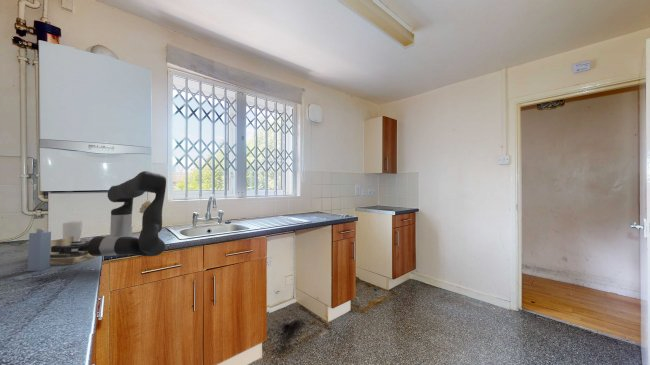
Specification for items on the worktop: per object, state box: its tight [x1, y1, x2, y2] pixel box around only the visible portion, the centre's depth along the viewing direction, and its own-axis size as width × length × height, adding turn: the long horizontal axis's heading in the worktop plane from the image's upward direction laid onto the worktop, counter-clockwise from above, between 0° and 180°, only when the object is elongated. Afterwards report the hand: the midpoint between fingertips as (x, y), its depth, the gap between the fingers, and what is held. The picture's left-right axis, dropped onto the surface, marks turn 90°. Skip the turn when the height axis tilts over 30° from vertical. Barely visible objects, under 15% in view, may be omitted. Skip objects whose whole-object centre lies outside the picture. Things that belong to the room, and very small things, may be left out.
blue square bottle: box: [26, 227, 52, 272], centre depth 97 cm, size 4×4×16 cm
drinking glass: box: [62, 220, 83, 242], centre depth 124 cm, size 7×7×15 cm
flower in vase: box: [137, 200, 152, 239], centre depth 146 cm, size 13×11×25 cm
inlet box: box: [50, 237, 97, 266], centre depth 110 cm, size 14×12×9 cm
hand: (62, 246), depth 98 cm, fingers open, 8 cm apart
